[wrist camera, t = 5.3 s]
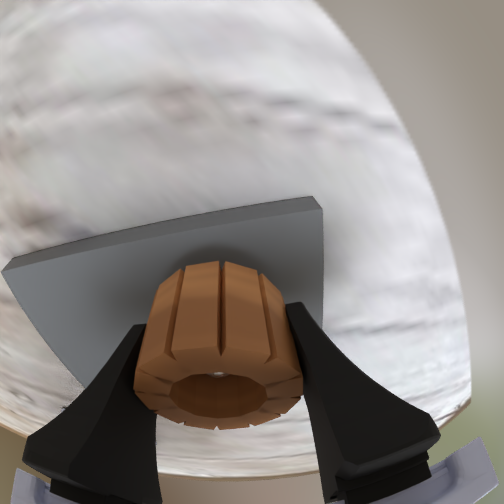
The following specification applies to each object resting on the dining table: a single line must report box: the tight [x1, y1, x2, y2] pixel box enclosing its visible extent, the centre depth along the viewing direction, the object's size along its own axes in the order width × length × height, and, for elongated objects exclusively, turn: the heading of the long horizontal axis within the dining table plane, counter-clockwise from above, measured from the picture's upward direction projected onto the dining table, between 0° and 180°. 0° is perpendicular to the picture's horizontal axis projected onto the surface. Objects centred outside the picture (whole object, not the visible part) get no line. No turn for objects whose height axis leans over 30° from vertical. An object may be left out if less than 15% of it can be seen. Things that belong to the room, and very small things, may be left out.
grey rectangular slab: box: [1, 196, 324, 389], centre depth 16 cm, size 18×14×2 cm
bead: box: [133, 261, 303, 430], centre depth 10 cm, size 6×6×4 cm
